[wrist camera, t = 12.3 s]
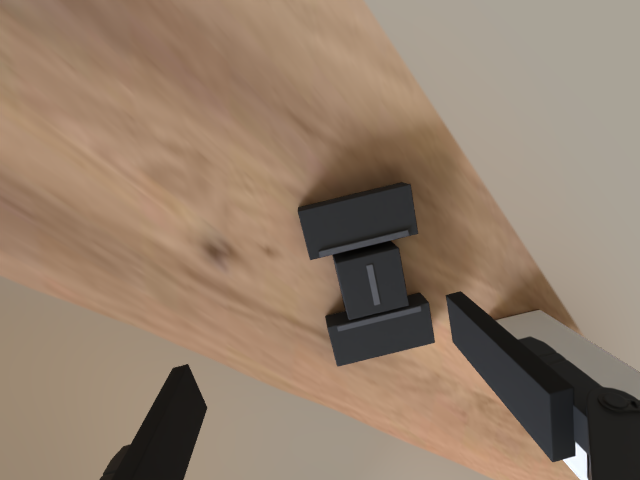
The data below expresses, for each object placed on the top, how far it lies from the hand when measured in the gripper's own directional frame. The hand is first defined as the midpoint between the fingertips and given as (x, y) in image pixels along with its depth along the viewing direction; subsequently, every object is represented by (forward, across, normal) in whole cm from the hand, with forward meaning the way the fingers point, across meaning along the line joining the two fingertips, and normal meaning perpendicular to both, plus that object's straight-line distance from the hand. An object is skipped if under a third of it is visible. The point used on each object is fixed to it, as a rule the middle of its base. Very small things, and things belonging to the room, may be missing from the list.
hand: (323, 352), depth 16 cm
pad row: (+18, +5, -5) cm, 20 cm away
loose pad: (+18, +5, -5) cm, 20 cm away
